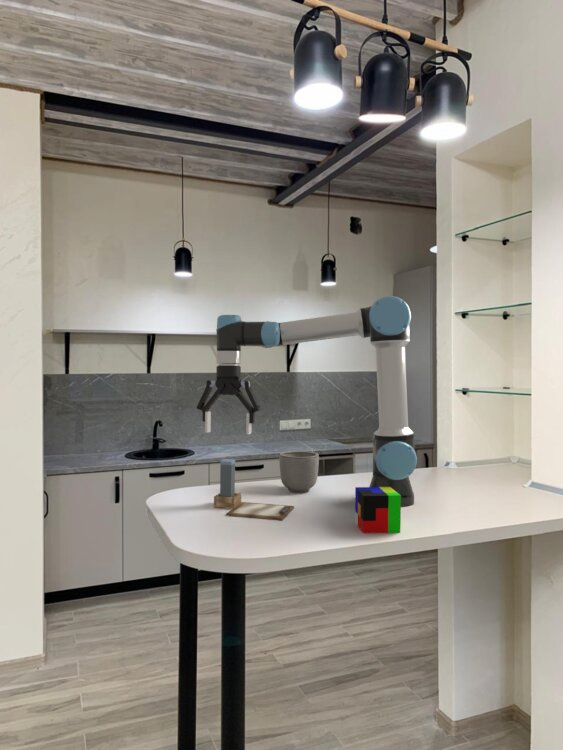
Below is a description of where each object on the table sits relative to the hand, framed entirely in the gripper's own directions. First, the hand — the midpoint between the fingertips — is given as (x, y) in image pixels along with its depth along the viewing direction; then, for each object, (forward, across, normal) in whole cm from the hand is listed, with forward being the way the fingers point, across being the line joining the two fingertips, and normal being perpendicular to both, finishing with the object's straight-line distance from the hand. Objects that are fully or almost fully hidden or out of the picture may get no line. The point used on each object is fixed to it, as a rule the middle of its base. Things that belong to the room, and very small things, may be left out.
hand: (228, 433), depth 171 cm
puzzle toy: (+23, -47, +9) cm, 53 cm away
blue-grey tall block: (+22, 0, 0) cm, 22 cm away
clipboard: (+23, -12, +4) cm, 26 cm away
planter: (+23, -17, -26) cm, 38 cm away
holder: (+23, 0, 0) cm, 23 cm away
